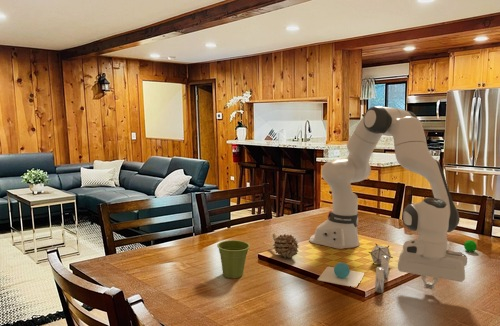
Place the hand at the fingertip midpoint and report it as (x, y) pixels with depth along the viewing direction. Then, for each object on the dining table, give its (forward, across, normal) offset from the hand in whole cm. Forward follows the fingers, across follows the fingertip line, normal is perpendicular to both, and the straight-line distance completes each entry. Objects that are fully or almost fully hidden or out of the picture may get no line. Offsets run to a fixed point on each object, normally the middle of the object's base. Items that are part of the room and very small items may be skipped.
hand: (429, 288), depth 132 cm
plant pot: (+2, +65, +16) cm, 67 cm away
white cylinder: (+2, -3, -39) cm, 39 cm away
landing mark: (+2, +29, 0) cm, 29 cm away
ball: (-1, +29, +1) cm, 29 cm away
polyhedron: (+2, -15, -54) cm, 56 cm away
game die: (+2, +18, -19) cm, 26 cm away
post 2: (+2, +15, -6) cm, 16 cm away
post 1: (+2, +15, +6) cm, 16 cm away
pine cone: (+2, +57, -12) cm, 58 cm away
